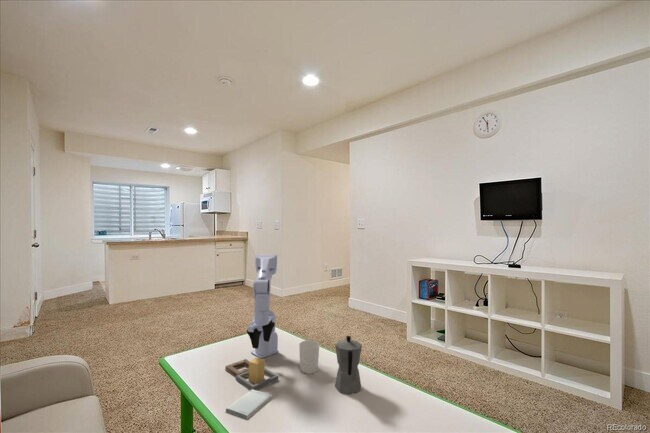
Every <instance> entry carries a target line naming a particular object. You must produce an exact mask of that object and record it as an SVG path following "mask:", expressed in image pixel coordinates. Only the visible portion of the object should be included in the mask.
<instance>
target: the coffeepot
mask: <svg viewBox="0 0 650 433" xmlns="http://www.w3.org/2000/svg"><path fill="white" fill-rule="evenodd" d="M334 345H335V353H336V360H337V364H338V369H337V372H336V378H335V384H334V387H335V389H336V391H338V392H339V393H341V394H344V393H346V394H345V395H353V394H352V393H355V394H357V393H359V392H360V391H361V389H362V384H361V383H362V382H361V376H360V371H359V365H360V358H361V353H362V347H363V346H362V345H363V344H361V343H360V342H359V341H357V340H352V337H351V335H347V336H346V338H344V339H342V340H338V341H337V342H336V343H335V344H334ZM356 392H357V393H356Z"/></svg>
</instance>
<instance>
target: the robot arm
mask: <svg viewBox="0 0 650 433" xmlns="http://www.w3.org/2000/svg"><path fill="white" fill-rule="evenodd" d="M254 263H255V271H256V277H255V280H254V281H253V285H252V290H253V291H252V292H253V299H254V301H253V302H254V305H253V307H254V308H253V309H254V310H253V316H252V320H251V323H250V324H249V325H248V326H247V330H246V333H247V335H248V337H249V339H250V342H251V346H252V349H255V350H252V351H250V354H252V355H254V356H255V357H257V358H260V359H263V358H265V357H268V356H271V355H274V354H277V353H279V350H278V348H279V346H278V345H279V344H278V343H279V341H278V340H279V336H278V333H277V332H276V314H275V312H274V311H272V310H271V309H270V306H271V305H270V303H271V289H272V286H271V283H272V282H271V280H272V278H273V277H272V276H273V275H275V274H277V270H278V269H277V267H278V254H276V253H275V254H259V253H258V254H256V256H255V262H254Z"/></svg>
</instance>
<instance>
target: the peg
mask: <svg viewBox="0 0 650 433" xmlns="http://www.w3.org/2000/svg"><path fill="white" fill-rule="evenodd" d="M248 361H249V376H248V382H250V383H254V384H257V383H259V382H261V381H264V380H265V374H264V368H266V367H265V365H266V363H265V361H266V360H265V359H263V358H260V357H254V358H253V359H251V360H248Z"/></svg>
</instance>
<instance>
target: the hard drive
mask: <svg viewBox="0 0 650 433" xmlns="http://www.w3.org/2000/svg"><path fill="white" fill-rule="evenodd" d="M271 399H272V395H271V394H270V393H266V392H263V391H259V390H258V389H257V390H253V389H252V390H249V391H248V392H246V393H245V394H243V396H241V397H240V398H238V399H237V400H236V401H234V402H233V403H232V404H230V405H229V406H228V407H226V408H225V412H226V413H229V414H231V415H234V416H237V417H239V418H243V419H245V420H248V419H249V418H251V416H252V415H254V414H255V413H257V411H259V409H261V407H263V406H264V405H265V404H266V403H268V402H269V401H270V400H271Z"/></svg>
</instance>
